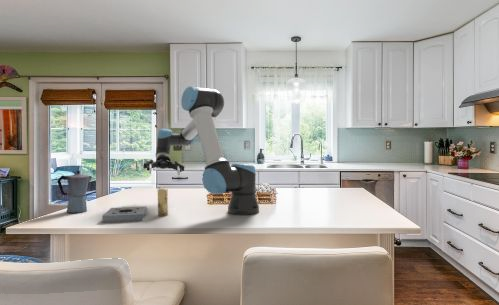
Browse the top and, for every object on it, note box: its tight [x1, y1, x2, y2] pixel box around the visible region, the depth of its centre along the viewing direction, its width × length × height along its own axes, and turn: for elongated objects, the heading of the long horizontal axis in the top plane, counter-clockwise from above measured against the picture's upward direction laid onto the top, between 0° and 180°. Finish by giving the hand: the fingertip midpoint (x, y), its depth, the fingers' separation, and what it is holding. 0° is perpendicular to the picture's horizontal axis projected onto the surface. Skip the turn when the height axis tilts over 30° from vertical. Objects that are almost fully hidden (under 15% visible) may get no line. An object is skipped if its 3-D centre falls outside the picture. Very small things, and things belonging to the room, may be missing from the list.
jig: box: [102, 206, 148, 224], centre depth 144 cm, size 16×16×3 cm
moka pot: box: [57, 170, 93, 214], centre depth 155 cm, size 10×15×20 cm, turn 137°
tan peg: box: [157, 188, 169, 217], centre depth 148 cm, size 4×4×12 cm
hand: (164, 171), depth 155 cm, fingers open, 13 cm apart
